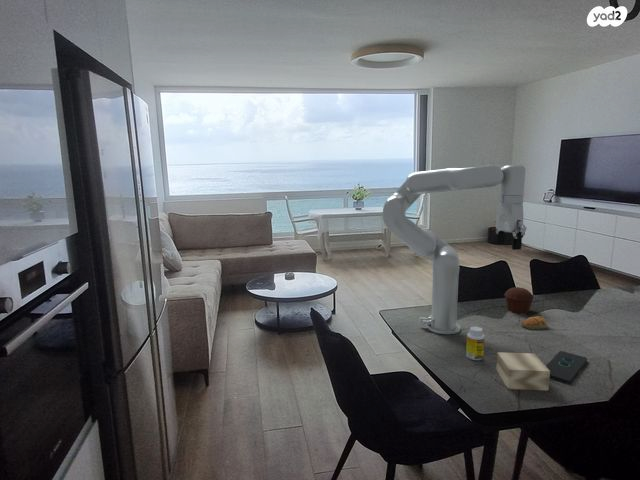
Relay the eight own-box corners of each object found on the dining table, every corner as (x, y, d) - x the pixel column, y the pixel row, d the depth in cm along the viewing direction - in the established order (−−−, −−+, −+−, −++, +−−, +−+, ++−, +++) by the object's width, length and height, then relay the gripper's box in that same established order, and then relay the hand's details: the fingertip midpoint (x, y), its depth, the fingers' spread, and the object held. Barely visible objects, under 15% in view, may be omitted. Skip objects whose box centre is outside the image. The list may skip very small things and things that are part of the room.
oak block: (508, 388, 117) (509, 369, 116) (496, 370, 128) (497, 352, 127) (548, 390, 116) (550, 371, 115) (533, 371, 127) (534, 353, 126)
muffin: (498, 309, 180) (500, 288, 179) (510, 304, 187) (511, 283, 186) (526, 317, 171) (527, 294, 170) (537, 310, 179) (538, 288, 177)
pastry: (530, 331, 157) (530, 322, 156) (516, 325, 163) (517, 316, 163) (548, 328, 160) (549, 318, 159) (535, 322, 166) (535, 313, 166)
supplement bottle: (476, 362, 133) (478, 333, 131) (462, 356, 138) (463, 327, 136) (487, 358, 136) (488, 329, 134) (472, 351, 141) (474, 324, 139)
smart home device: (588, 357, 133) (570, 380, 119) (587, 362, 133) (570, 386, 119) (559, 349, 138) (540, 371, 125) (559, 354, 139) (539, 376, 125)
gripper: (488, 198, 154) (485, 242, 157) (517, 202, 137) (513, 252, 140) (506, 197, 155) (503, 242, 158) (537, 201, 138) (533, 251, 141)
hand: (508, 246), depth 149 cm, fingers open, 9 cm apart
